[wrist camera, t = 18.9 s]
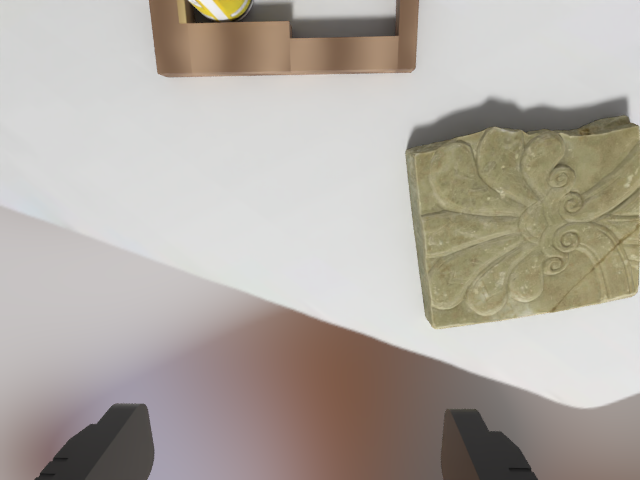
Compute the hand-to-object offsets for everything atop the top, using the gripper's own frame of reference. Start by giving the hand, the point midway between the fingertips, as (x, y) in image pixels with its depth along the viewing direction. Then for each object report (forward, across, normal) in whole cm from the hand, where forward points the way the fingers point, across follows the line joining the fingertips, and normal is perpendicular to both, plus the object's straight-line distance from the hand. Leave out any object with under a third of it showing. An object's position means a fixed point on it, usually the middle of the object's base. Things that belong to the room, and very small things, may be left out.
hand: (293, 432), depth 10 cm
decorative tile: (+29, -19, 0) cm, 35 cm away
